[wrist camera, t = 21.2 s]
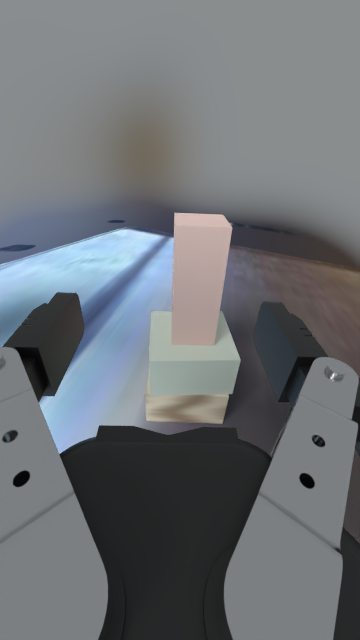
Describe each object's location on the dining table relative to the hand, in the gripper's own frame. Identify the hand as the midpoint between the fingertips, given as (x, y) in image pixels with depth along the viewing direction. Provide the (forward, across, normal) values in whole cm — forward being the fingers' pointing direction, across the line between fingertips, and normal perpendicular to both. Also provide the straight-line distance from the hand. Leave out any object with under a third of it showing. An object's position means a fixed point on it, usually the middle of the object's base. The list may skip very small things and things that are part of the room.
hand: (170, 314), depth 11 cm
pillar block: (+13, -3, +11) cm, 17 cm away
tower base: (+13, -2, +21) cm, 25 cm away
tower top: (+13, -3, +16) cm, 21 cm away
